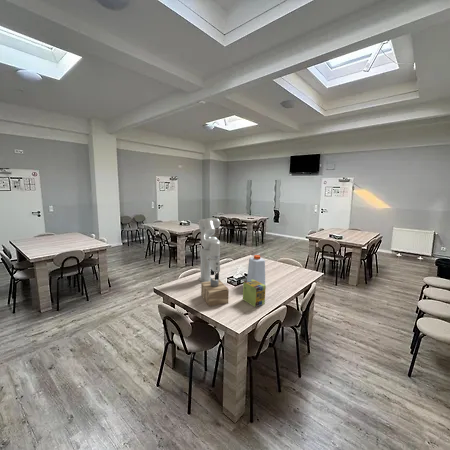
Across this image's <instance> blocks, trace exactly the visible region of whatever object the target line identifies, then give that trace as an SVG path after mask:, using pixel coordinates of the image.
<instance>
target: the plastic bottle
mask: <svg viewBox="0 0 450 450" xmlns="http://www.w3.org/2000/svg"><path fill="white" fill-rule="evenodd" d="M252 279H253V280H255V281H258V282H260V283H262V284H264V285H266V261H265V259H264V258H263V257H261V255H259V254H256V255H255V254H254V255H253V257H249V259H248V265H247V277H246V281H249V280H252Z"/></svg>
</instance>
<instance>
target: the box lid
mask: <svg viewBox="0 0 450 450" xmlns="http://www.w3.org/2000/svg"><path fill="white" fill-rule="evenodd" d="M201 284H202V285H203V286H204V287H205V289H206V290H207V291H208V292H209V293H214V292H219V291H224V290H229V287H228V286H226V285H225V284H224V282H222V280H220V279H219V286H218V287H211V281H208V282H201ZM201 284H200V285H201Z"/></svg>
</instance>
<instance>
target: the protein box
mask: <svg viewBox="0 0 450 450" xmlns="http://www.w3.org/2000/svg"><path fill="white" fill-rule="evenodd" d="M242 285H243V286H242V300H243V301H244V302H246V303H248V304H250V305H251V306H253V307H254V308H257V307H260V306H263V305H265V303H266V284H265V285H264V284H262V283H260V282H258V281H255V280H253V279H252V280H249V281H247V280H245V281H243V283H242Z"/></svg>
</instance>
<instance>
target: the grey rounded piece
mask: <svg viewBox="0 0 450 450" xmlns="http://www.w3.org/2000/svg"><path fill="white" fill-rule="evenodd" d="M211 278H212V279H211V280H210V281H211V287H218V286H219V280H220V279H219V280H215V277H214V278H213V277H211Z"/></svg>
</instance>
